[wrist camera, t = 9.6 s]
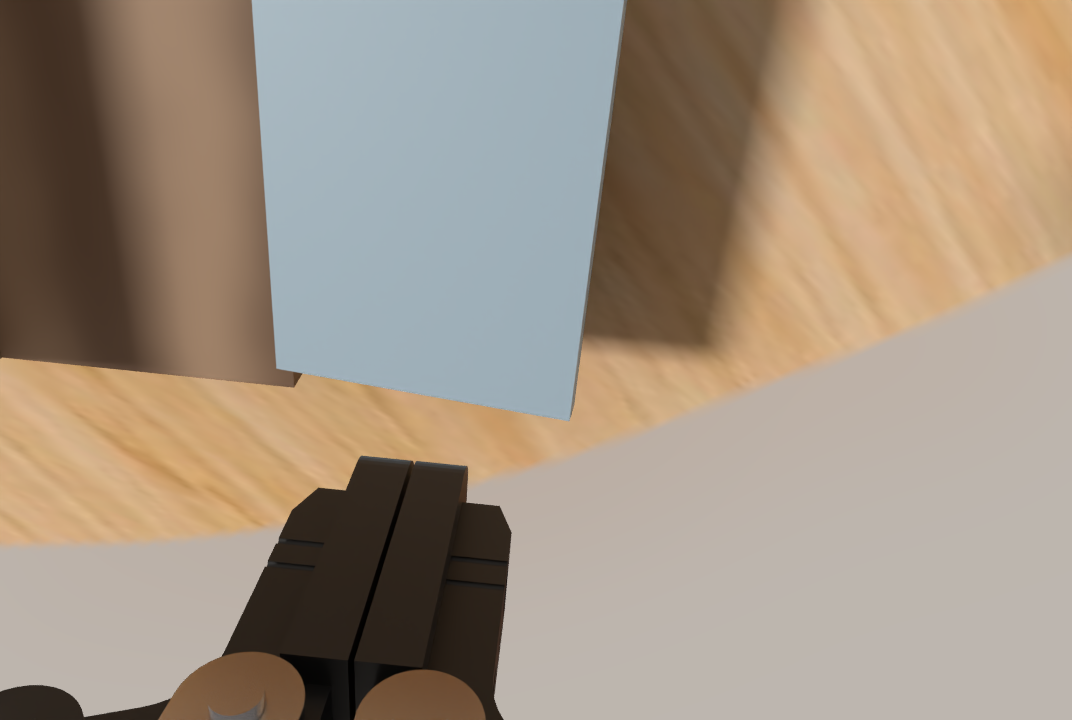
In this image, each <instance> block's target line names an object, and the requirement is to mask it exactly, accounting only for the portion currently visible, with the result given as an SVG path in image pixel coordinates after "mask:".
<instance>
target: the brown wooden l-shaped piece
mask: <svg viewBox="0 0 1072 720" xmlns="http://www.w3.org/2000/svg"><path fill="white" fill-rule="evenodd" d="M2 357H4V358H13V359H23V360H33V361H42V362H52V363H62V364H71V365H81V366H91V367H100V368H110V369H120V370H129V371H139V372H149V373H159V374H168V375H178V376H188V377H197V378H207V379H217V380H226V381H236V382H246V383H255V384H265V385H275V386H284V387H295V385H296V383H297V382H298V380H299V378H300V377H301V375H302V373H298V372H293V371H287V370H281V369H276V354H275V339H274V325H273V310H272V295H271V280H270V265H269V250H268V235H267V221H266V206H265V191H264V176H263V161H262V146H261V131H260V116H259V102H258V87H257V72H256V57H255V42H254V27H253V12H252V0H0V359H1V358H2Z"/></svg>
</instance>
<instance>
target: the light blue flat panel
mask: <svg viewBox="0 0 1072 720" xmlns="http://www.w3.org/2000/svg"><path fill="white" fill-rule="evenodd" d="M626 6H627V0H252V12H253V27H254V42H255V57H256V72H257V87H258V102H259V116H260V131H261V146H262V161H263V176H264V191H265V206H266V221H267V235H268V250H269V265H270V280H271V295H272V310H273V325H274V339H275V354H276V369H281V370H287V371H293V372H298V373H304V374H309V375H315V376H320V377H326V378H332V379H337V380H343V381H348V382H354V383H359V384H365V385H370V386H376V387H382V388H387V389H393V390H398V391H404V392H409V393H415V394H421V395H426V396H432V397H437V398H443V399H448V400H454V401H460V402H465V403H471V404H476V405H482V406H487V407H493V408H498V409H504V410H510V411H515V412H521V413H526V414H532V415H537V416H543V417H549V418H554V419H560V420H565V421H570V417H571V414H572V411H573V407H574V402H575V394H576V386H577V379H578V371H579V363H580V356H581V348H582V341H583V333H584V325H585V318H586V310H587V303H588V295H589V287H590V280H591V272H592V265H593V257H594V249H595V242H596V234H597V226H598V219H599V211H600V204H601V196H602V188H603V181H604V173H605V166H606V158H607V150H608V143H609V135H610V127H611V120H612V112H613V105H614V97H615V89H616V82H617V74H618V67H619V59H620V51H621V44H622V36H623V29H624V21H625V13H626Z"/></svg>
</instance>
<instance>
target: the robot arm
mask: <svg viewBox="0 0 1072 720" xmlns="http://www.w3.org/2000/svg"><path fill="white" fill-rule="evenodd" d="M467 482H468V467H467V466H459V465H450V464H440V463H430V462H420V461H416V462H415V464H414V462H413V461H408V460H398V459H389V458H379V457H369V456H361V457H360V458H359V460H358V462H357V464H356V467H355V469H354V471H353V474H352V476H351V479H350V481H349V484H348V486H347V489H346V491H345V490H335V489H325V488H318V489H317V490H315V491H314V492H313V493H312V494H311V495H309V496H308V497H307V498H306V499H305V500H304V501H302V502H301V503H300V504H299V505H298V506H297V507H295V508H294V509H293V510H292V511H291V514H290V516H289V518H288V520H287V522H286V524H285V526H284V528H283V530H282V532H281V535H280V537H279V542H278V544H276V545H275V547H274V549H273V551H272V553H271V555H270V557H269V560H268V565H267V567H265V568H264V570H263V572H262V574H261V576H260V578H259V580H258V582H257V585H256V587H255V589H254V591H253V593H252V595H251V597H250V599H249V602H248V603H247V605H246V608H245V610H244V612H243V614H242V616H241V618H240V620H239V622H238V624H237V626H236V628H235V631H234V633H233V635H232V637H231V639H230V641H229V643H228V645H227V647H226V649H225V651H224V653H223V655H222V657H220V658H217V659H215V660H213V661H210V662H208V663H207V664H205V665H203V666H202V667H200V668H198V669H197V670H196V671H195V672H193V673H192V674H191V675H189V676H188V678H186V679H185V681H183V682H182V683H181V685H180V686H179V688H178V689H177V690H176V692H175V693H174V695H173V696H172V698H171V699H168V700H165V701H163V702H160V703H157V704H153V705H150V706H145V707H141V708H134V709H129V710H123V711H118V712H111V713H106V714H100V715H94V716H88V717H84V716H83V712H82V709H81V707H80V705H79V703H78V702H77V700H75V698H74V697H73V696H71V695H70V694H68V693H66V692H65V691H63V690H61V689H58V688H54V687H50V686H43V685H29V686H22V687H15V688H11V689H7V690H4V691H1V692H0V720H503V718H502V716H501V714H500V713H499V711H498V709H497V706H496V703H495V700H494V694H495V685H496V677H497V668H498V661H499V652H500V643H501V636H502V628H503V619H504V611H505V599H506V588H507V576H508V566H509V565H508V564H509V554H510V543H511V530H510V528H509V526H508V524H507V522H506V519H505V517H504V515H503V513H502V510H501V508H500V506H493V505H484V504H474V503H466V501H467Z"/></svg>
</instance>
